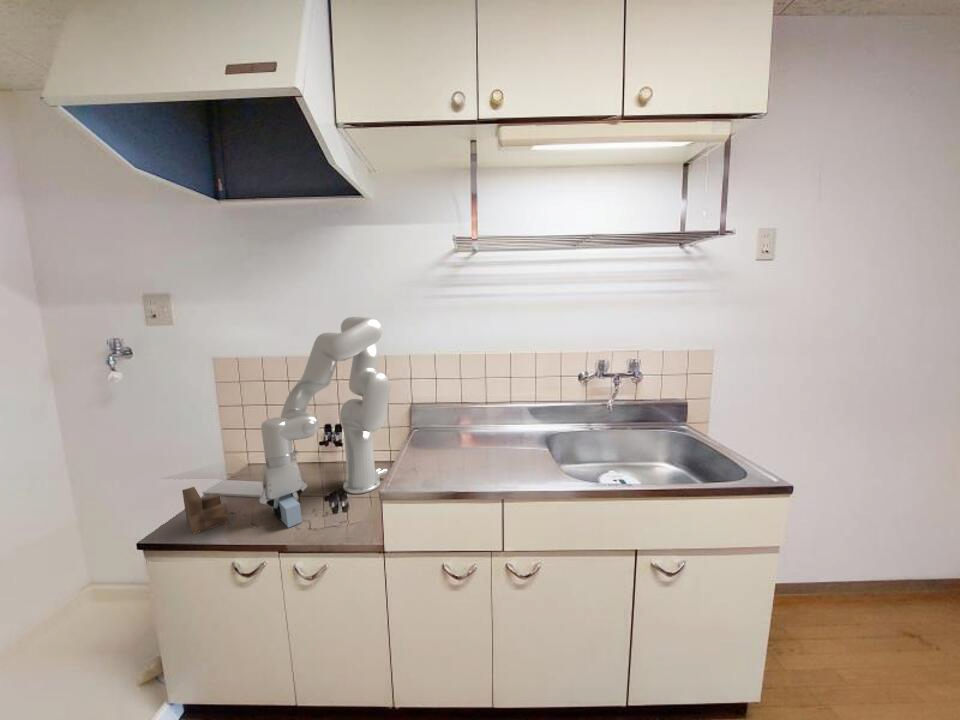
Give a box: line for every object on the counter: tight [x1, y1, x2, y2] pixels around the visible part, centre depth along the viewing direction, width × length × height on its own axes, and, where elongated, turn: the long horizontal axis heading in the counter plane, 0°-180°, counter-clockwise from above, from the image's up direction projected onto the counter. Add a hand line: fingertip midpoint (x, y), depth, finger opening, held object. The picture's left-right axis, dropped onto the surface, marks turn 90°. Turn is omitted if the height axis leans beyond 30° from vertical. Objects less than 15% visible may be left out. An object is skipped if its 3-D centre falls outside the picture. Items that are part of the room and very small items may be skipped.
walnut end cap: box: [182, 486, 230, 534], centre depth 123 cm, size 9×10×10 cm
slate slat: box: [271, 494, 303, 528], centre depth 125 cm, size 4×14×6 cm, turn 44°
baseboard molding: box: [202, 479, 306, 499], centre depth 144 cm, size 31×3×12 cm
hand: (286, 513), depth 125 cm, fingers closed on slate slat, 4 cm apart
